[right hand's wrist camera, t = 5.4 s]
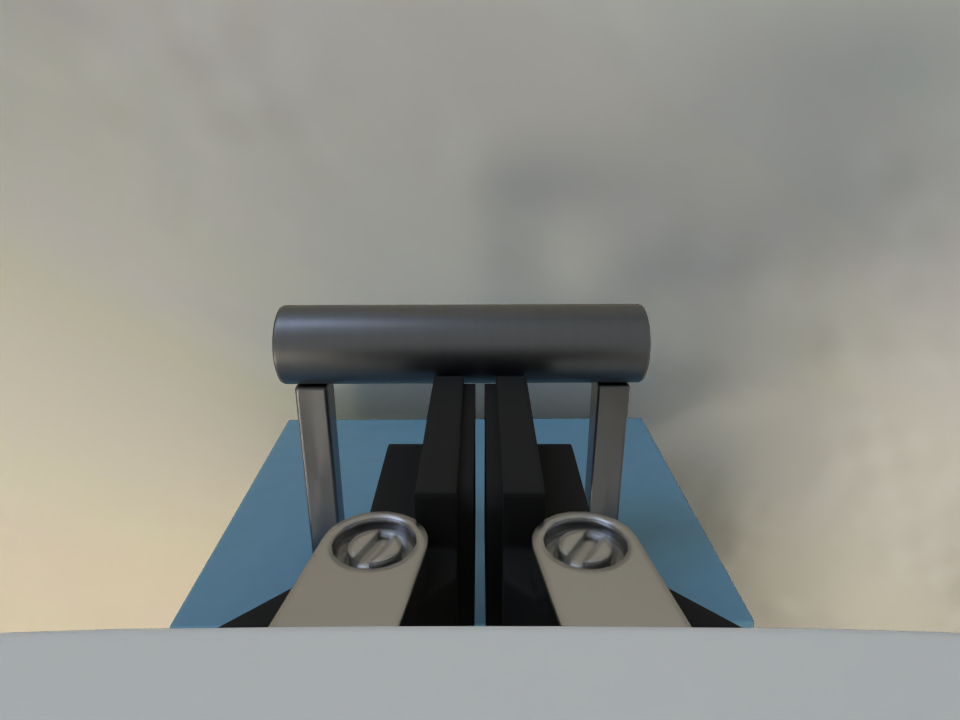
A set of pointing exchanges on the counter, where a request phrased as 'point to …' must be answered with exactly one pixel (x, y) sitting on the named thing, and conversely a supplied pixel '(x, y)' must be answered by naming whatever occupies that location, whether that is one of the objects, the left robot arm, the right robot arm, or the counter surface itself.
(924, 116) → the counter surface
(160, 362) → the counter surface
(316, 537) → the drawer
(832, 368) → the counter surface
